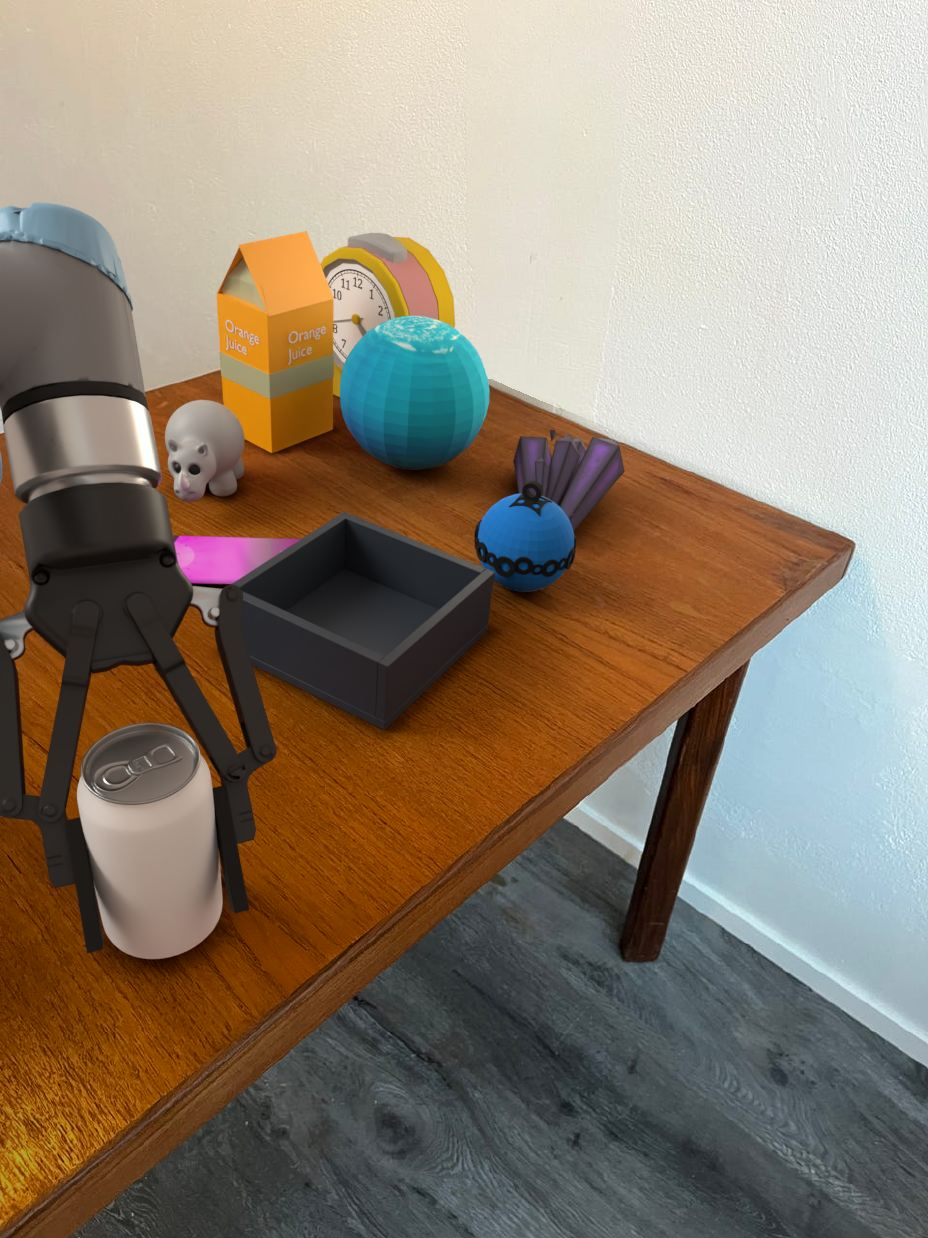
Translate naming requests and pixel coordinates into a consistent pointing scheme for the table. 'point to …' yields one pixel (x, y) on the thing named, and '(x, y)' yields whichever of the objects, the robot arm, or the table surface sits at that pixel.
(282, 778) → the table surface
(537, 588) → the ornament
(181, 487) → the chubby cartoon animal
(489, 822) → the table surface
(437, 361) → the decorative orb
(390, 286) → the alarm clock
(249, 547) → the smartphone
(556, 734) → the table surface
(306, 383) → the orange juice
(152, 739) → the can
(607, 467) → the crystal
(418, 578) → the tray
